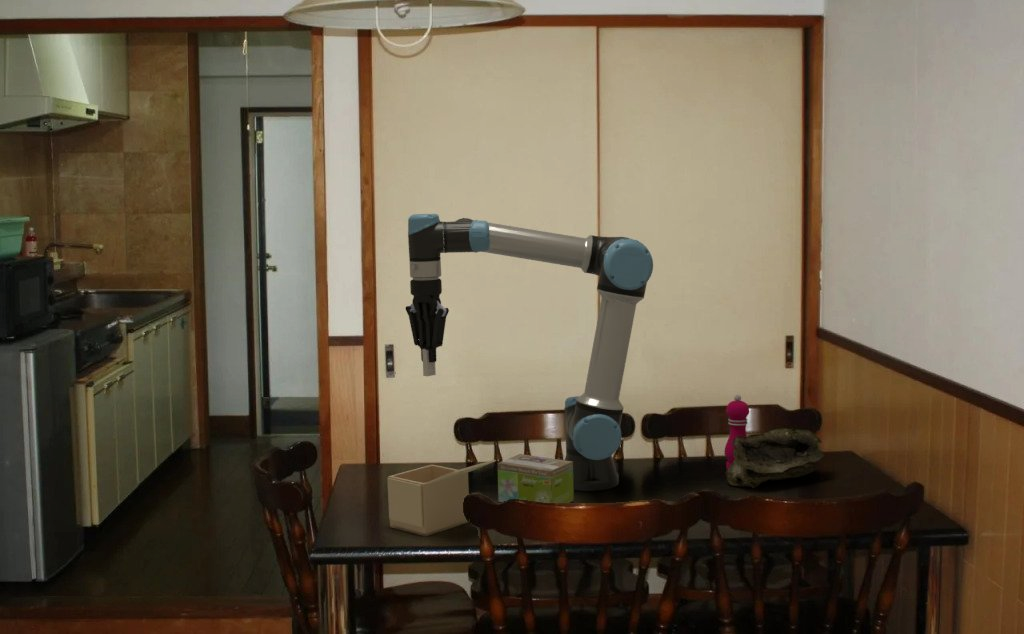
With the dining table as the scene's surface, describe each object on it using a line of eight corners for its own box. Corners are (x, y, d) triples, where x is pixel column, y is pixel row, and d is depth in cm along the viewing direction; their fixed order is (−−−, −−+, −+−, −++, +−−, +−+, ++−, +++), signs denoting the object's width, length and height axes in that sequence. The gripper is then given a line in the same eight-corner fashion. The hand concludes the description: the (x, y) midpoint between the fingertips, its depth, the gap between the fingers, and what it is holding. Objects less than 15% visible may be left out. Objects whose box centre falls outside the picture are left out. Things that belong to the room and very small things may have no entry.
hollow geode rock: (817, 491, 317) (794, 442, 325) (840, 465, 307) (816, 416, 316) (725, 502, 306) (704, 452, 314) (747, 476, 296) (724, 424, 305)
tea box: (497, 524, 280) (495, 461, 278) (521, 513, 288) (519, 452, 286) (552, 533, 272) (551, 469, 270) (575, 522, 280) (574, 459, 278)
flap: (467, 470, 280) (495, 459, 273) (467, 472, 280) (495, 461, 273) (426, 482, 271) (454, 471, 264) (426, 484, 270) (454, 472, 264)
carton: (434, 512, 291) (432, 463, 290) (471, 521, 283) (469, 471, 281) (386, 527, 280) (384, 476, 279) (423, 537, 272) (421, 485, 270)
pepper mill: (756, 470, 321) (756, 396, 319) (731, 472, 320) (730, 398, 317) (744, 464, 328) (744, 391, 326) (720, 466, 326) (719, 393, 324)
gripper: (395, 278, 292) (399, 375, 295) (433, 280, 283) (436, 380, 286) (418, 276, 298) (422, 370, 300) (455, 278, 289) (459, 375, 292)
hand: (429, 375), depth 293 cm, fingers closed
